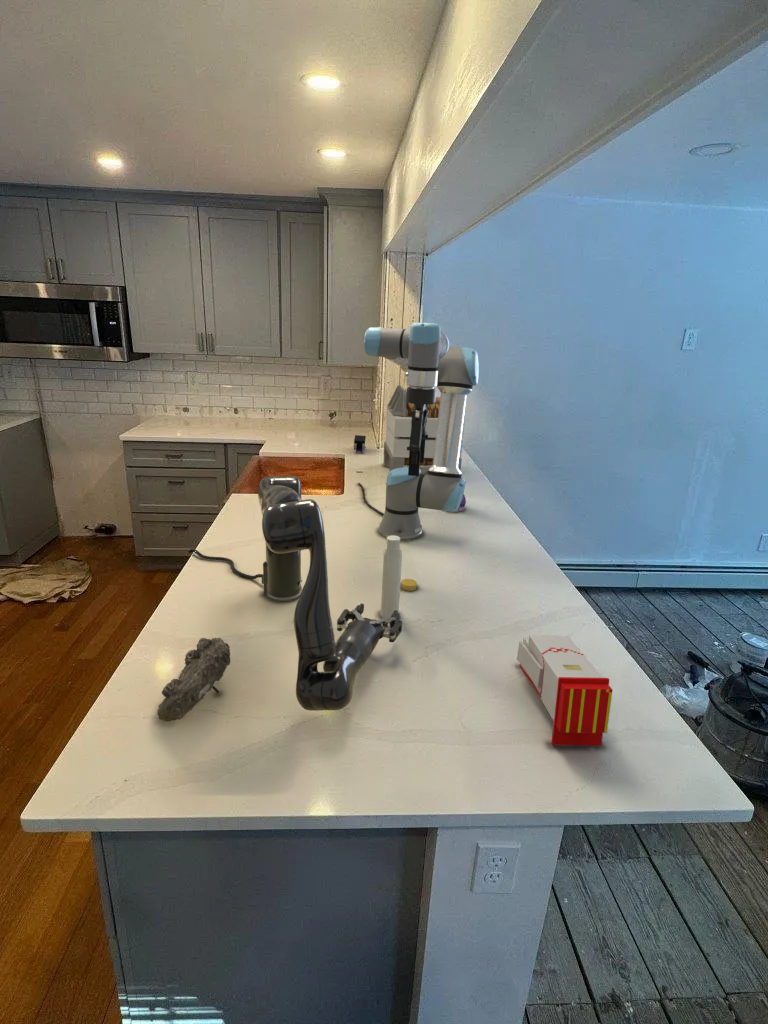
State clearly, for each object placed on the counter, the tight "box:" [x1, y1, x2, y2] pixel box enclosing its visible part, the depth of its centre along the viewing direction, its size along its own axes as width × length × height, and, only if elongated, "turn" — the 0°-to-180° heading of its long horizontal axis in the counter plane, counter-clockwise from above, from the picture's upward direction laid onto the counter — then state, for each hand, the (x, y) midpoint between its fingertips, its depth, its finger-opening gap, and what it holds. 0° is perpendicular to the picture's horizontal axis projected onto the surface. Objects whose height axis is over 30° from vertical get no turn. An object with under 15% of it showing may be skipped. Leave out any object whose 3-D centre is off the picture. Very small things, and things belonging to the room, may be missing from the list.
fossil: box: [157, 637, 231, 723], centre depth 113 cm, size 22×10×15 cm
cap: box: [400, 578, 418, 592], centre depth 162 cm, size 4×4×2 cm
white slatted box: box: [383, 384, 465, 472], centre depth 268 cm, size 34×33×41 cm
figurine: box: [453, 492, 467, 513], centre depth 225 cm, size 9×10×15 cm
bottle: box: [380, 535, 403, 619], centre depth 143 cm, size 5×5×22 cm
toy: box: [516, 634, 613, 747], centre depth 116 cm, size 12×13×30 cm
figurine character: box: [353, 434, 367, 454], centre depth 311 cm, size 7×8×15 cm
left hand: (379, 610), depth 136 cm, fingers open, 8 cm apart
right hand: (416, 468), depth 150 cm, fingers open, 13 cm apart
